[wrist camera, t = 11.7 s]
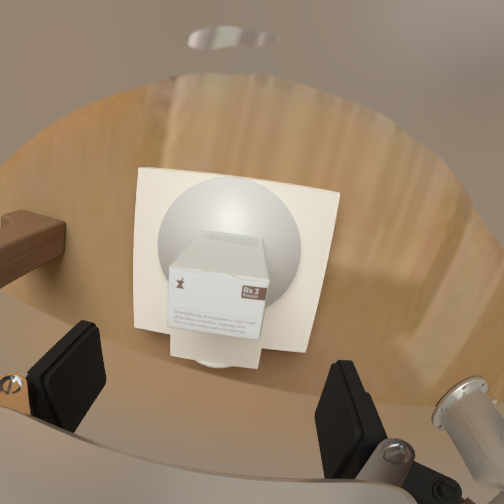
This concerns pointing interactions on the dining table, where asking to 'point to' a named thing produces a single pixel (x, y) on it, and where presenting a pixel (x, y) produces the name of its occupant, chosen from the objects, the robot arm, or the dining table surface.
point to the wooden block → (28, 243)
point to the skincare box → (219, 285)
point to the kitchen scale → (236, 222)
